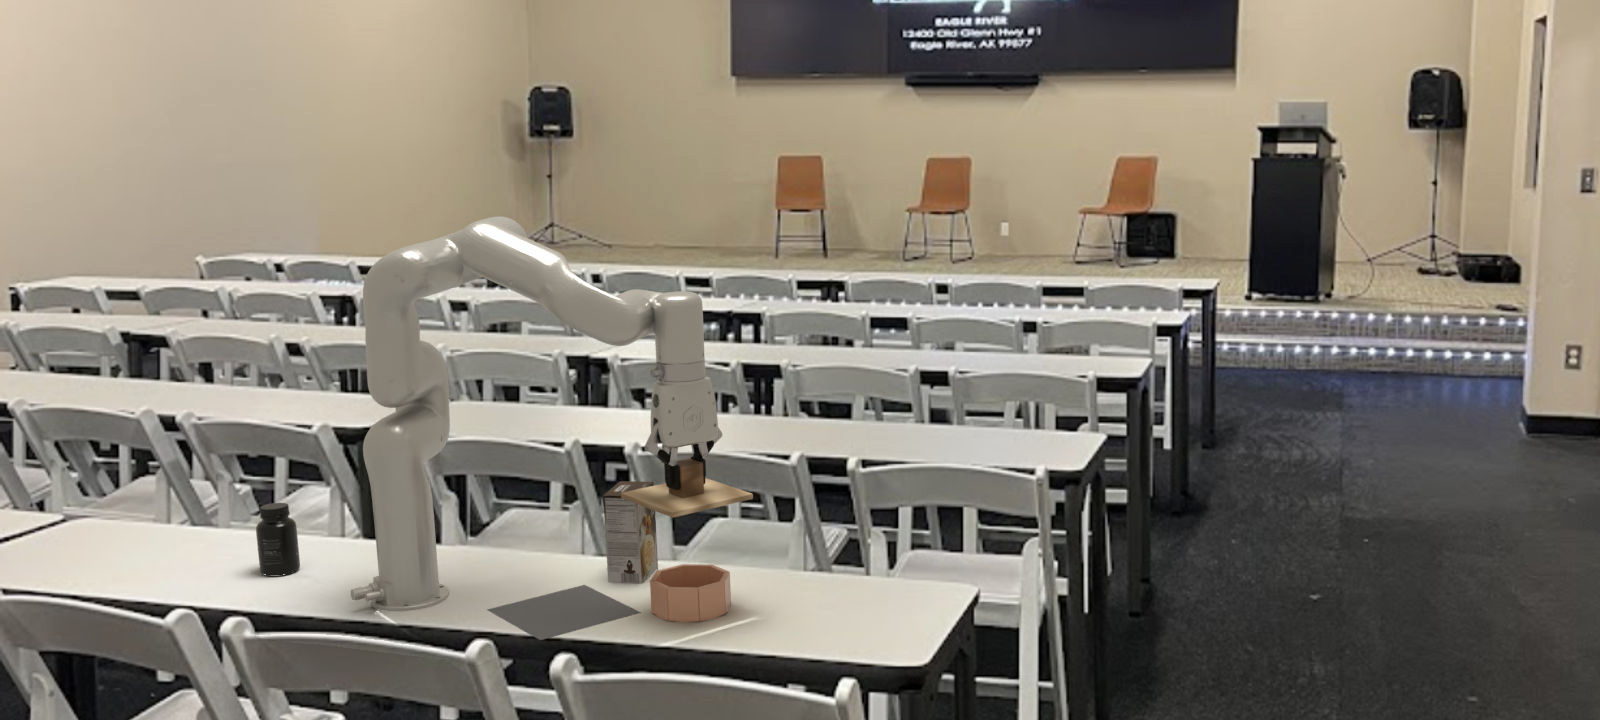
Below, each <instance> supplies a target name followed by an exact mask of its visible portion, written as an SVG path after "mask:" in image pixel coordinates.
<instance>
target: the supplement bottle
mask: <svg viewBox="0 0 1600 720" xmlns="http://www.w3.org/2000/svg"><path fill="white" fill-rule="evenodd" d="M289 509H290V506H289V504H288V503H286V502H272V503H267V504H264V505H261V506H260V507H259V518H260V519H261V521H259V522H258V523H257V525H256V528H255V533H256V542H257V553H258V565H259V571H260V573H261V575H263V574H266V575H283V574H288V575H290V574H289V573H291V574H293V573H292V572H294V573H296V572H298V571H299V570H300V568H301V560H300V559H301V558H300V548H299V538H298V530H297V523H296V521H295V520H294V519H293V518H291V517H289V516H290V513H291V512H290V510H289ZM298 569H299V570H298ZM297 570H298V571H297ZM295 571H296V572H295ZM283 576H284V575H283Z"/></svg>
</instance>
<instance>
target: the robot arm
mask: <svg viewBox="0 0 1600 720" xmlns="http://www.w3.org/2000/svg"><path fill="white" fill-rule="evenodd" d="M481 278H484V279H486V280H488V281H490V282H493V283H495V284H497V285H499V286H502V287H504V288H506V289H508V290H510V291H513V292H515V293H516V294H519V295H521V296H523V297H524V298H528V299H530V300H532V301H534V302H536V303H537V304H539V305H540V306H541V307H542V308H543V309H544V310H546V311H547V312H548V313H549V314H551V315H552V316H554V317H553V318H556V319H557V320H558V321H560V322H561V323H562V324H564V325H566V326H567V327H569V328H571V329H573V330H575V331H576V332H578V333H581V334H584V335H585V336H588V337H589V338H592V339H595V340H596V341H599V342H601V343H603V344H606V345H610V346H615V347H623V346H629V345H631V344H633V343H635V342H636V341H638V340H640V339H641V338H645V337H647V336H650V335H654V342H655V344H654V345H655V368H651V369H650V372H649V373H650V376H651V378H656V381H654V382H653V386H652V391H651V392H652V394H651V402H650V403H651V404H650V434H649V436H648V438H647V440H646V443H645V444H644V447H643V449H644V450H645V451H646V452H647V453H650V454H652V455H654V456H655V457H657V459H659V460H660V462H661V463H662V464H663V465H664V466H663V467H664V468H663V469H664V483H666V486H667V487H668V488H671V489H674V490H680V468H679V465H677V464H676V462H677V460H678V452H679V448H681V447H682V448H683V447H686V446H690V447H691V451H692V455H693V456H690V457H689V458H690V459H692V460H695V461H698V462H702V463H703V480H704V484H705V478H707V469H706V468H707V467H706V465H707V464H706V460H707V459H708V458H709V455H710V454H709V453H710V452H711V450H712V449H713V447H714V446H715V444H716V443H718V442H719V441H720V439H721V438H723V433H722V431H721V429H720V428H719V423H718V422H719V421H718V411H717V404H716V398H715V397H716V395H715V392H714V388H713V384H712V380H711V378H710V377H709V376H706V361H705V360H706V359H705V339H704V338H705V336H704V335H705V332H704V311H703V309H704V308H703V300H702V298H701V296H700V295H699V294H698V293H696V292H693V291H685V290H684V291H681V290H680V291H679V290H678V291H669V292H668V291H667V292H661V291H653V290H646V289H639V288H638V289H637V288H634V289H630V290H626V291H624V292H621V293H619V294H617V295H614V294H611V293H609V292H607V291H605V290H602V289H601V288H598V287H596V286H595V285H591V284H590V283H588V282H586V280H585V281H584V280H583V279H581V278H580V277H579V276H577V274H575V273H574V272H573V270H572V269H571V267H570V266H569V263H568V261H567V258H566V257H565V255H564V254H562V253H561V252H559V251H556V250H554V249H552V248H550V247H547V246H546V245H543V244H542V243H540V242H539V243H538V242H537V241H534V240H532V239H530V238H528V236H527V233H526V231H525V230H524V228H523V227H522V226H521V224H520V223H518V221H516V220H514V219H512V218H510V217H507V216H492V217H491V216H490V217H487V218H482V219H479V220H476V221H474V222H471V223H470V224H468V225H466V226H465V227H464V228H463V229H461V230H458V231H455V232H453V233H449V234H446V235H443V236H441V237H438V238H434V239H430V240H427V241H423V242H418V243H414V244H411V245H406V246H403V247H401V248H398V249H396V250H393V251H391V252H389V253H388V254H385V255H384V256H382V257H381V258H379V259H378V260H377V261H376V262H374V264H373V265H372V266H371V267H370V269H369V270H368V272H367V273H366V276H365V278H364V281H363V286H362V304H363V315H364V316H363V317H364V324H365V325H364V328H365V329H364V330H365V331H364V332H365V338H364V339H365V357H366V377H367V379H366V381H367V389H368V391H369V394H370V396H371V398H372V400H374V402H375V403H377V404H378V405H380V406H381V407H383V408H389V409H391V408H392V409H393V408H394V409H395V412H392V413H390V414H389V415H386V416H385V417H382V418H381V419H379V420H378V421H377V422H375V423H374V424H373V425H372V426H371V427H370V428H369V430H368V431H367V433H366V434H365V436H364V439H363V444H362V452H363V461H364V463H365V468H366V471H367V475H368V481H369V483H370V484H369V485H370V492H371V499H372V503H371V504H372V512H373V521H374V531H375V533H374V534H375V547H376V554H377V555H376V557H377V568H378V569H377V570H378V575H376V576H373V577H372V580H373V582H371V583H368V585H367V586H364V587H363V586H360V587H356V588H351V590H350V591H349V593H350V597H351V600H352V601H354V602H355V601H357V600H363V599H364V600H365V602H369V601H370V603H371V606H372V608H373V609H377V610H378V609H379V610H382V611H388V612H389V611H390V612H407V611H408V612H409V611H416V610H420V609H421V610H422V609H426V608H427V609H428V608H430V607H434V606H437V605H438V604H441V603H443V602H444V601H446V600H447V599H448V598H449V597H450V588H448V587H447V585H444V584H441V583H440V582H439V581H440V580H439V578H440V577H439V566H438V554H437V541H436V527H435V514H434V513H435V512H434V503H433V502H434V501H433V494H432V493H433V492H432V488H431V483H430V480H429V478H428V474H427V472H426V467H425V463H426V461H429V460H430V459H432V458H433V457H435V456H437V455H438V454H439V453H440V452H441V451H442V450H443V449H444V448H445V446H446V445H447V442H448V441H449V436H450V429H451V428H450V427H451V423H450V419H451V418H450V400H449V399H450V397H449V395H450V394H449V393H450V391H449V375H448V369H447V364H446V362H445V359H444V356H443V355H442V354H441V352H440V351H439V349H438V348H436V346H435V345H433V344H431V343H430V342H427V341H425V340H421V325H420V320H419V319H420V318H419V315H418V312H417V309H416V306H415V302H417V300H419V299H422V298H426V297H429V296H432V295H433V296H434V295H435V294H439V293H443V292H445V291H449V290H451V289H453V288H456V287H459V286H462V285H465V284H467V283H470V282H472V281H475V280H479V279H481ZM658 444H662V445H661V448H660V447H659V446H658Z"/></svg>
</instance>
